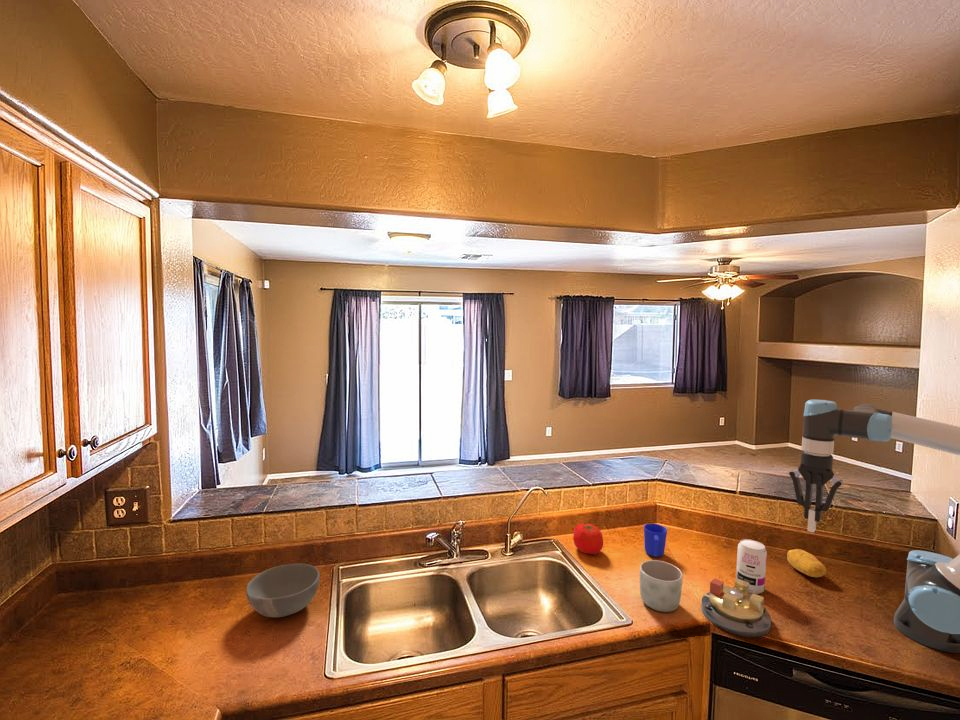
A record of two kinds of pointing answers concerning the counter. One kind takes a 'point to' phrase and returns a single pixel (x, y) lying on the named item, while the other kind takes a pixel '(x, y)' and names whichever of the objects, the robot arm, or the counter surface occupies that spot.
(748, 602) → the brass disc with cubes
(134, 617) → the counter surface
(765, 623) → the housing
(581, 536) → the tomato
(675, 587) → the planter
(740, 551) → the supplement can
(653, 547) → the mug
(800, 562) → the potato
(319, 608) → the counter surface
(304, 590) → the bowl
